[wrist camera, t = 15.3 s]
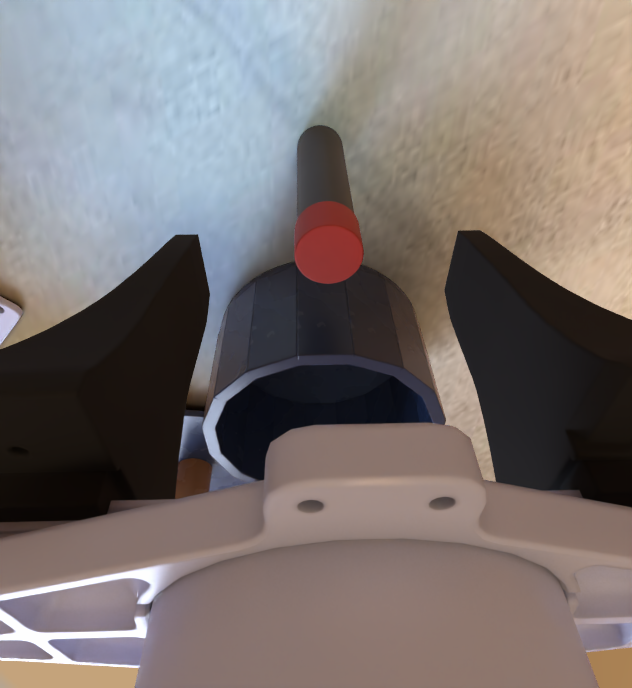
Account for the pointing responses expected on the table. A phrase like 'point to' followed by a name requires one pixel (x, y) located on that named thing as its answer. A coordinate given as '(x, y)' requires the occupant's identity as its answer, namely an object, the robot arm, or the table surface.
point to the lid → (199, 462)
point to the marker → (325, 210)
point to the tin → (313, 363)
